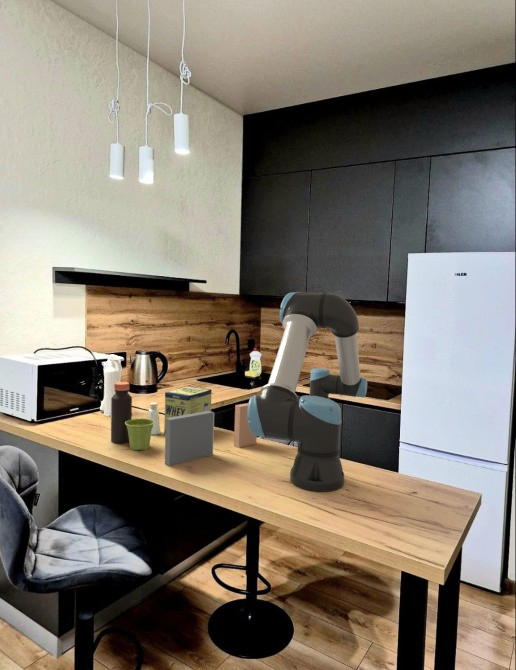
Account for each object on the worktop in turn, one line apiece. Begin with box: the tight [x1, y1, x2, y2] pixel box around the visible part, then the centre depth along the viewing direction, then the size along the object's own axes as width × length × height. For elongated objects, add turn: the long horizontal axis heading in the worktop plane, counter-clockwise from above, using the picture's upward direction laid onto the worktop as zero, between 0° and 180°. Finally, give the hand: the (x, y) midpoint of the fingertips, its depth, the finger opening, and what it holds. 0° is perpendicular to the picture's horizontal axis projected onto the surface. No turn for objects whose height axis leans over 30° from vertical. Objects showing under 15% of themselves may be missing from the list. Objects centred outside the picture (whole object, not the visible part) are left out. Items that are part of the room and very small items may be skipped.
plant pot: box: [125, 418, 154, 451], centre depth 158 cm, size 9×9×9 cm
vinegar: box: [110, 381, 133, 444], centre depth 164 cm, size 7×7×20 cm
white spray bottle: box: [99, 354, 125, 417], centre depth 198 cm, size 7×12×25 cm, turn 56°
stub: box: [233, 402, 258, 449], centre depth 164 cm, size 8×2×14 cm, turn 133°
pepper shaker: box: [147, 402, 161, 436], centre depth 175 cm, size 5×5×11 cm
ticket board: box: [164, 410, 215, 467], centre depth 148 cm, size 16×3×14 cm, turn 133°
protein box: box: [163, 385, 213, 434], centre depth 178 cm, size 10×16×16 cm
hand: (261, 420), depth 169 cm, fingers open, 13 cm apart
